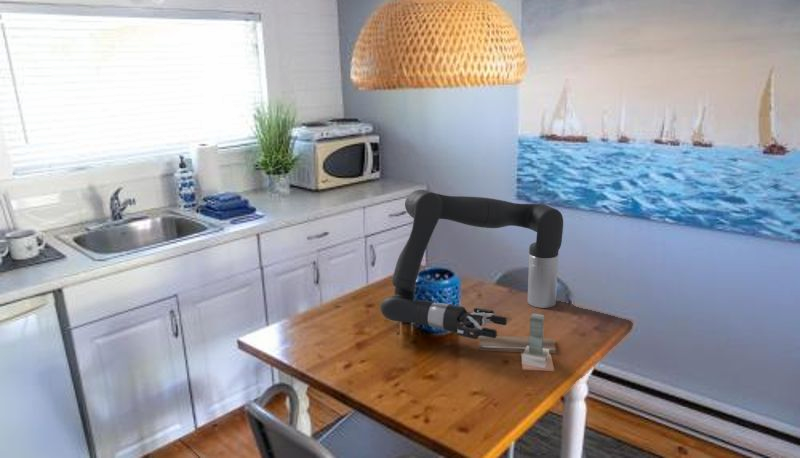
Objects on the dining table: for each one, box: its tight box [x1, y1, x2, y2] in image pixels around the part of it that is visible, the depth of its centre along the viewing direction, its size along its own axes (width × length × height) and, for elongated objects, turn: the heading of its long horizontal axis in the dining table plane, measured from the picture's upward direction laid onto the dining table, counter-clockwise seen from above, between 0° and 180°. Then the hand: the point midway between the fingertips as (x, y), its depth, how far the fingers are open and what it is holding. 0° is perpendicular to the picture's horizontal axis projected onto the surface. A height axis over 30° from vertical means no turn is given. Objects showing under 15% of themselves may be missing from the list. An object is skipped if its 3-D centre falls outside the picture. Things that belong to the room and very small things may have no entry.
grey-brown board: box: [478, 335, 556, 354], centre depth 162 cm, size 7×21×1 cm, turn 82°
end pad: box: [520, 352, 555, 372], centre depth 153 cm, size 8×8×1 cm
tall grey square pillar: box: [521, 313, 550, 368], centre depth 151 cm, size 6×6×13 cm
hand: (501, 327), depth 155 cm, fingers open, 8 cm apart
